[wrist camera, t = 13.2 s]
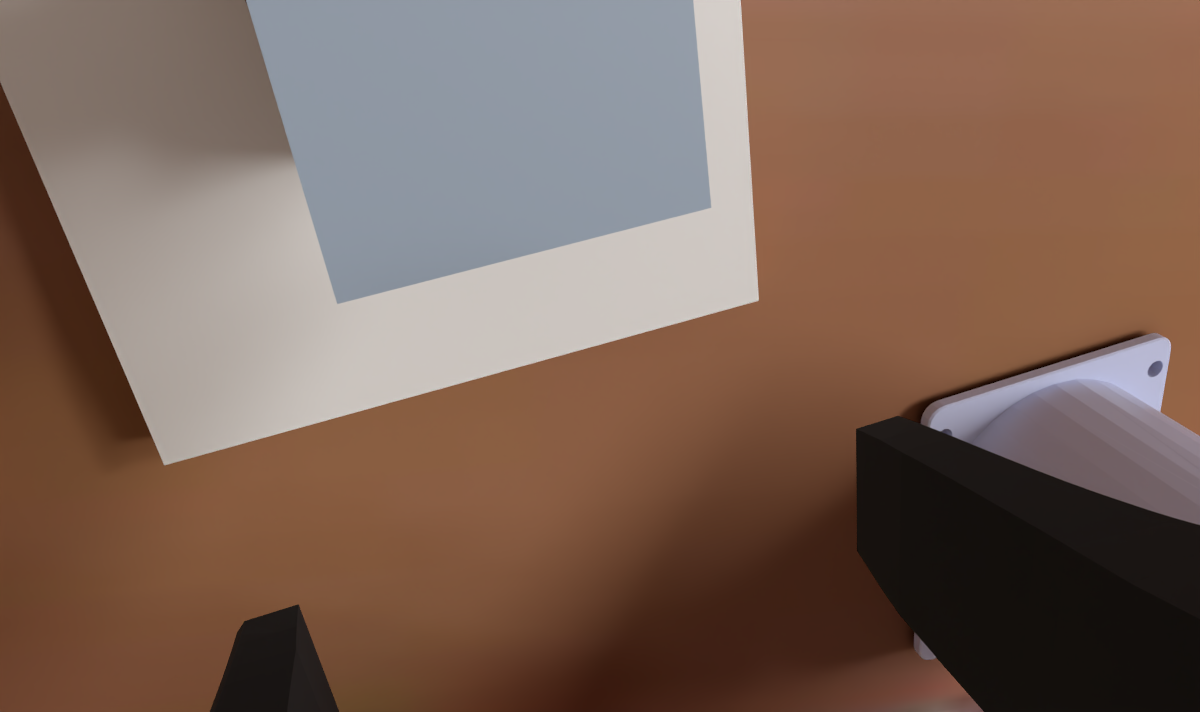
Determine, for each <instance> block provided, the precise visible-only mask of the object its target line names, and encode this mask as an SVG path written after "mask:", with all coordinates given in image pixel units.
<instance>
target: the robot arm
mask: <svg viewBox="0 0 1200 712" xmlns="http://www.w3.org/2000/svg"><path fill="white" fill-rule="evenodd" d="M1170 351H1171V343H1170V341H1169V339H1167V338H1165V337H1163V336H1161V335H1159V334H1157V333H1152V334H1148V335H1145V336H1141V337H1138V338H1135V339H1132V340H1129V341H1125V342H1122V343H1119V344H1116V345H1113V346H1110V347H1106V348H1103V349H1100V350H1097V351H1094V352H1090V353H1087V354H1084V355H1081V356H1078V357H1074V358H1071V359H1068V360H1065V361H1062V362H1059V363H1055V364H1052V365H1049V366H1046V367H1043V368H1039V369H1036V370H1033V371H1030V372H1027V373H1023V374H1020V375H1017V376H1014V377H1011V378H1008V379H1004V380H1001V381H998V382H995V383H992V384H988V385H985V386H982V387H979V388H976V389H972V390H969V391H966V392H963V393H960V394H957V395H953V396H950V397H947V398H944V399H941V400H937V401H935V402H933V403H931V404H930V405H929V406H928V407H927V408H926V409H925V411H924V413H923V414H922V418H921V424H919V423H917V422H914V421H911V420H908V419H905V418H902V417H899V416H896V417H893V418H890V419H886V420H883V421H880V422H877V423H874V424H871V425H867V426H864V427H861V428H858V429H856V462H857V551H858V553H859V554H860V556H861V557H862V559H863V561H864V562H865V564H866V565H867V567H868V568H869V570H870V572H871V573H872V575H873V576H874V578H875V579H876V581H877V582H878V584H879V586H880V587H881V588H882V590H883V591H884V593H885V594H886V596H887V597H888V599H889V600H890V602H891V603H892V604H893V606H894V607H895V609H896V610H897V612H898V613H899V614H900V616H901V617H902V618H903V619H904V620H905V622H906V623H907V624H908V625H909V626H910V628H911V629H912V630H913V631H914V649H915V651H916V652H917V653H918V654H919V656H920V657H921V658H923V659H925V660H930V659H935V658H937V659H938V660H939V661H940V662H941V663H942V664H943V666H944V667H945V668H946V669H947V670H948V671H949V672H950V674H951V675H952V676H953V677H954V678H955V679H956V680H957V682H958V683H959V684H960V685H961V686H962V687H963V688H964V689H965V691H966V692H967V693H968V694H969V695H970V696H971V697H972V699H973V700H974V701H975V702H976V703H977V704H978V705H979V707H980V708H981V709H982V710H983V711H984V712H1200V436H1199V435H1197V434H1195V433H1194V432H1192V431H1190V430H1189V429H1187V428H1186V427H1184V426H1182V425H1181V424H1179V423H1177V422H1176V421H1174V420H1172V419H1171V418H1169V417H1167V416H1166V415H1164V414H1162V413H1161V412H1160V410H1161V404H1162V398H1163V392H1164V386H1165V381H1166V375H1167V369H1168V363H1169V357H1170ZM942 430H943V431H942ZM940 431H942V432H940ZM210 712H339V710H338V708H337V705H336V702H335V700H334V697H333V694H332V692H331V689H330V687H329V684H328V681H327V679H326V676H325V673H324V671H323V668H322V665H321V663H320V660H319V658H318V655H317V652H316V650H315V647H314V644H313V642H312V639H311V636H310V634H309V631H308V628H307V626H306V623H305V621H304V618H303V615H302V613H301V610H300V607H299V605H295V606H292V607H289V608H285V609H282V610H279V611H276V612H273V613H270V614H266V615H263V616H260V617H257V618H254V619H250V620H247V621H245V622H244V623H243V625H242V626H241V628H240V629H239V631H238V632H237V635H236V638H235V642H234V645H233V648H232V651H231V654H230V657H229V660H228V663H227V666H226V669H225V672H224V675H223V678H222V681H221V683H220V686H219V689H218V692H217V694H216V697H215V700H214V702H213V705H212V708H211V710H210Z"/></svg>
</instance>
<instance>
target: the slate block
mask: <svg viewBox="0 0 1200 712" xmlns="http://www.w3.org/2000/svg"><path fill="white" fill-rule="evenodd" d="M246 2H247V5H248V8H249V12H250V15H251V18H252V22H253V25H254V28H255V32H256V35H257V38H258V42H259V45H260V48H261V52H262V55H263V58H264V62H265V65H266V68H267V72H268V75H269V78H270V82H271V85H272V88H273V92H274V95H275V98H276V102H277V105H278V108H279V112H280V115H281V118H282V122H283V125H284V128H285V132H286V135H287V138H288V142H289V145H290V148H291V152H292V155H293V158H294V162H295V165H296V168H297V172H298V175H299V178H300V182H301V185H302V188H303V192H304V195H305V198H306V202H307V205H308V208H309V212H310V215H311V218H312V222H313V225H314V228H315V232H316V235H317V238H318V242H319V245H320V248H321V252H322V255H323V258H324V262H325V265H326V268H327V272H328V275H329V278H330V282H331V285H332V288H333V292H334V295H335V298H336V302H337V304H340V303H343V302H347V301H351V300H355V299H359V298H363V297H367V296H371V295H374V294H378V293H382V292H386V291H390V290H394V289H398V288H402V287H405V286H409V285H413V284H417V283H421V282H425V281H429V280H433V279H437V278H440V277H444V276H448V275H452V274H456V273H460V272H464V271H468V270H471V269H475V268H479V267H483V266H487V265H491V264H495V263H499V262H503V261H506V260H510V259H514V258H518V257H522V256H526V255H530V254H534V253H537V252H541V251H545V250H549V249H553V248H557V247H561V246H565V245H569V244H572V243H576V242H580V241H584V240H588V239H592V238H596V237H600V236H603V235H607V234H611V233H615V232H619V231H623V230H627V229H631V228H634V227H638V226H642V225H646V224H650V223H654V222H658V221H662V220H666V219H669V218H673V217H677V216H681V215H685V214H689V213H693V212H697V211H700V210H704V209H708V208H711V198H710V187H709V176H708V164H707V153H706V141H705V130H704V118H703V107H702V96H701V84H700V73H699V61H698V50H697V38H696V27H695V16H694V4H693V0H246Z"/></svg>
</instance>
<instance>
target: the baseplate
mask: <svg viewBox="0 0 1200 712" xmlns="http://www.w3.org/2000/svg"><path fill="white" fill-rule="evenodd" d="M693 4H694V16H695V27H696V38H697V50H698V61H699V73H700V84H701V96H702V107H703V118H704V130H705V141H706V153H707V164H708V176H709V187H710V198H711V208H708V209H704V210H700V211H697V212H693V213H689V214H685V215H681V216H677V217H673V218H669V219H666V220H662V221H658V222H654V223H650V224H646V225H642V226H638V227H634V228H631V229H627V230H623V231H619V232H615V233H611V234H607V235H603V236H600V237H596V238H592V239H588V240H584V241H580V242H576V243H572V244H569V245H565V246H561V247H557V248H553V249H549V250H545V251H541V252H537V253H534V254H530V255H526V256H522V257H518V258H514V259H510V260H506V261H503V262H499V263H495V264H491V265H487V266H483V267H479V268H475V269H471V270H468V271H464V272H460V273H456V274H452V275H448V276H444V277H440V278H437V279H433V280H429V281H425V282H421V283H417V284H413V285H409V286H405V287H402V288H398V289H394V290H390V291H386V292H382V293H378V294H374V295H371V296H367V297H363V298H359V299H355V300H351V301H347V302H343V303H340V304H337V302H336V298H335V295H334V292H333V288H332V285H331V282H330V278H329V275H328V272H327V268H326V265H325V262H324V258H323V255H322V252H321V248H320V245H319V242H318V238H317V235H316V232H315V228H314V225H313V222H312V218H311V215H310V212H309V208H308V205H307V202H306V198H305V195H304V192H303V188H302V185H301V182H300V178H299V175H298V172H297V168H296V165H295V162H294V158H293V155H292V152H291V148H290V145H289V142H288V138H287V135H286V132H285V128H284V125H283V122H282V118H281V115H280V112H279V108H278V105H277V102H276V98H275V95H274V92H273V88H272V85H271V82H270V78H269V75H268V72H267V68H266V65H265V62H264V58H263V55H262V52H261V48H260V45H259V42H258V38H257V35H256V32H255V28H254V25H253V22H252V18H251V15H250V12H249V8H248V5H247V4H246V2H245V0H0V83H1V85H2V87H3V90H4V92H5V95H6V97H7V99H8V102H9V104H10V106H11V109H12V111H13V113H14V116H15V118H16V120H17V123H18V125H19V127H20V130H21V132H22V134H23V137H24V139H25V141H26V144H27V146H28V148H29V151H30V153H31V155H32V158H33V160H34V162H35V165H36V167H37V169H38V172H39V174H40V176H41V179H42V181H43V183H44V186H45V188H46V190H47V193H48V195H49V197H50V200H51V202H52V204H53V207H54V209H55V211H56V214H57V216H58V218H59V221H60V223H61V225H62V228H63V230H64V232H65V235H66V237H67V239H68V242H69V244H70V246H71V249H72V251H73V253H74V256H75V258H76V260H77V263H78V265H79V267H80V270H81V272H82V274H83V277H84V279H85V281H86V284H87V286H88V288H89V291H90V293H91V295H92V298H93V300H94V302H95V305H96V307H97V309H98V312H99V314H100V316H101V319H102V321H103V323H104V326H105V328H106V330H107V333H108V335H109V337H110V340H111V342H112V344H113V347H114V349H115V351H116V354H117V356H118V358H119V361H120V363H121V365H122V368H123V370H124V372H125V375H126V377H127V379H128V382H129V384H130V386H131V389H132V391H133V393H134V396H135V398H136V400H137V403H138V405H139V407H140V410H141V412H142V414H143V417H144V419H145V421H146V424H147V426H148V428H149V431H150V433H151V435H152V438H153V440H154V442H155V445H156V447H157V449H158V452H159V454H160V456H161V459H162V461H163V463H164V465H167V464H171V463H174V462H178V461H182V460H185V459H189V458H193V457H196V456H200V455H203V454H207V453H211V452H214V451H218V450H221V449H225V448H229V447H232V446H236V445H239V444H243V443H247V442H250V441H254V440H257V439H261V438H265V437H268V436H272V435H276V434H279V433H283V432H286V431H290V430H294V429H297V428H301V427H304V426H308V425H312V424H315V423H319V422H322V421H326V420H330V419H333V418H337V417H340V416H344V415H348V414H351V413H355V412H359V411H362V410H366V409H369V408H373V407H377V406H380V405H384V404H387V403H391V402H395V401H398V400H402V399H405V398H409V397H413V396H416V395H420V394H423V393H427V392H431V391H434V390H438V389H442V388H445V387H449V386H452V385H456V384H460V383H463V382H467V381H470V380H474V379H478V378H481V377H485V376H488V375H492V374H496V373H499V372H503V371H506V370H510V369H514V368H517V367H521V366H525V365H528V364H532V363H535V362H539V361H543V360H546V359H550V358H553V357H557V356H561V355H564V354H568V353H571V352H575V351H579V350H582V349H586V348H589V347H593V346H597V345H600V344H604V343H608V342H611V341H615V340H618V339H622V338H626V337H629V336H633V335H636V334H640V333H644V332H647V331H651V330H654V329H658V328H662V327H665V326H669V325H672V324H676V323H680V322H683V321H687V320H690V319H694V318H698V317H701V316H705V315H709V314H712V313H716V312H719V311H723V310H727V309H730V308H734V307H737V306H741V305H745V304H748V303H752V302H755V301H759V297H758V280H757V264H756V247H755V230H754V214H753V197H752V181H751V164H750V148H749V131H748V115H747V98H746V82H745V65H744V49H743V32H742V16H741V0H693Z"/></svg>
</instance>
